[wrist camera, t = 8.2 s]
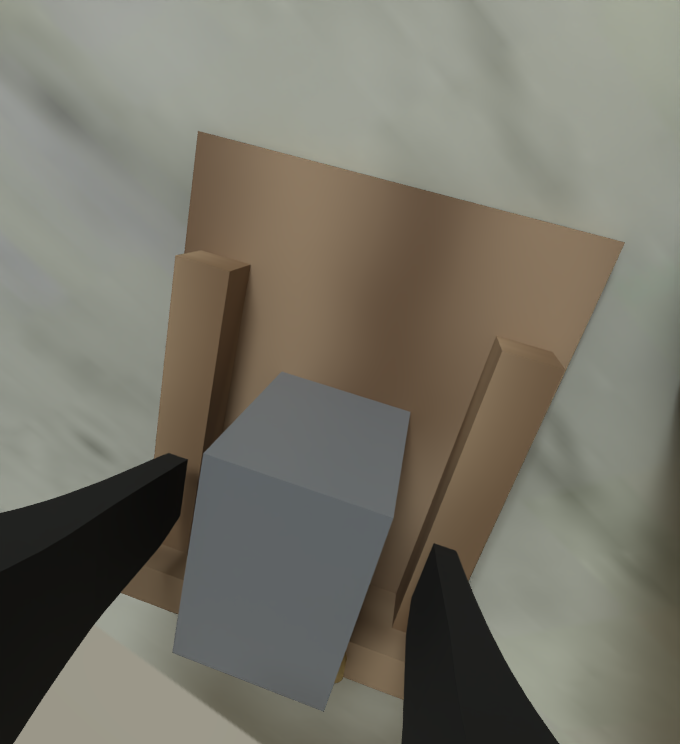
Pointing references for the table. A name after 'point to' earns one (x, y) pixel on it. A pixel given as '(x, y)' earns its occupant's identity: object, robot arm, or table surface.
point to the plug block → (289, 535)
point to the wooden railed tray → (370, 348)
